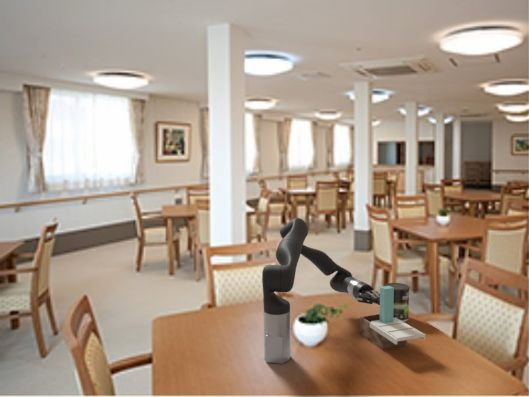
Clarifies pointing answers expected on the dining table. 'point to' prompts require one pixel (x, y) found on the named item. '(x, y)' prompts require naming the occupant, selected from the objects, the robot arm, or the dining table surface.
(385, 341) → the tub
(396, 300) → the coffee can
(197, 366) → the dining table surface
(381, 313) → the lid
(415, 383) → the dining table surface
